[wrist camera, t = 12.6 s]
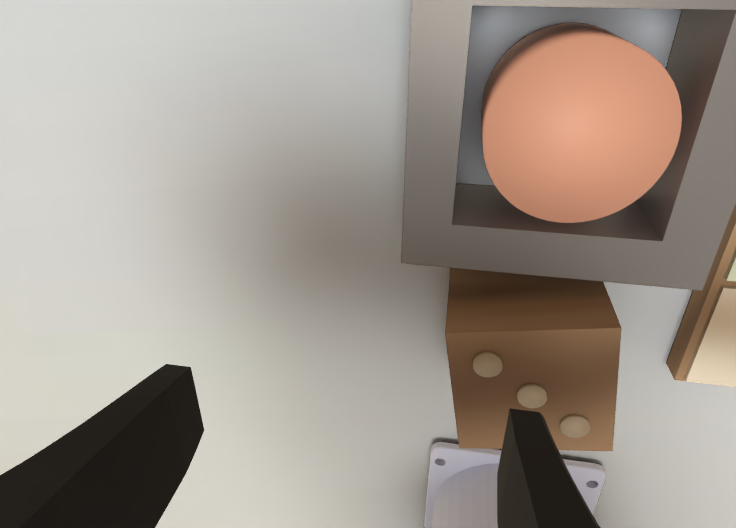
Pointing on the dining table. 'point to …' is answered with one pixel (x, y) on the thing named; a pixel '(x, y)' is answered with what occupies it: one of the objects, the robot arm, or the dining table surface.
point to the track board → (710, 323)
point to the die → (532, 356)
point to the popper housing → (581, 239)
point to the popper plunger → (578, 123)
